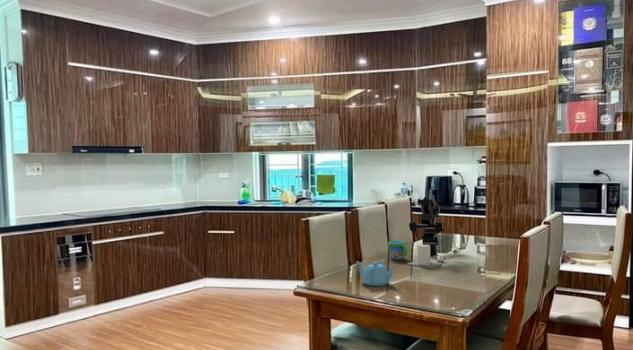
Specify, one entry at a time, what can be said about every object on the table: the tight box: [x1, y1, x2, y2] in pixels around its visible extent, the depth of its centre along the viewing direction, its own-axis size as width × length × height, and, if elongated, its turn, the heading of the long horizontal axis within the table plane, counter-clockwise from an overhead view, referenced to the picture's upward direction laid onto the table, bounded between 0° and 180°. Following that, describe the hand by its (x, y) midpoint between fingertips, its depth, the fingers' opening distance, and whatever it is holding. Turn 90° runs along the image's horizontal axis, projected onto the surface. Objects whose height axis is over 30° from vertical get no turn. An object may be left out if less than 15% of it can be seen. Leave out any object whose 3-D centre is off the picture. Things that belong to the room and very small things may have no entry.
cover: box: [417, 244, 431, 265], centre depth 253 cm, size 6×6×10 cm
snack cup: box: [387, 240, 408, 261], centre depth 271 cm, size 16×10×10 cm
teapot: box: [355, 258, 395, 287], centre depth 218 cm, size 15×15×10 cm
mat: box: [406, 259, 443, 269], centre depth 253 cm, size 16×10×1 cm, turn 46°
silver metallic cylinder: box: [436, 255, 444, 263], centre depth 260 cm, size 4×4×3 cm
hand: (425, 238), depth 260 cm, fingers open, 9 cm apart
